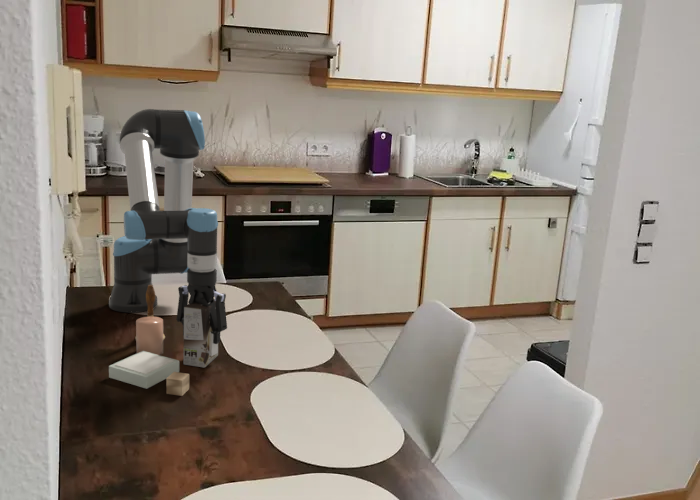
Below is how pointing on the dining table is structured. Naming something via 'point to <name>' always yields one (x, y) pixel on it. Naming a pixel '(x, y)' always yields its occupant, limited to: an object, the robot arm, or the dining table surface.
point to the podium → (143, 369)
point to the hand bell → (150, 302)
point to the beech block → (177, 383)
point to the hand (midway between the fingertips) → (201, 350)
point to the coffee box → (197, 335)
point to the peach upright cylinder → (149, 335)
